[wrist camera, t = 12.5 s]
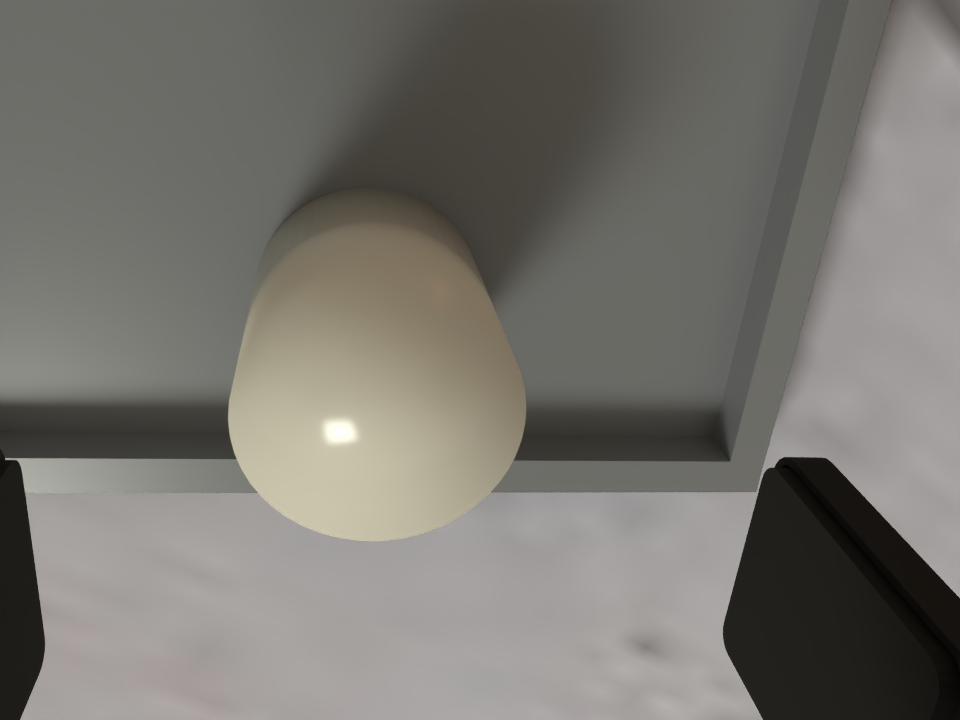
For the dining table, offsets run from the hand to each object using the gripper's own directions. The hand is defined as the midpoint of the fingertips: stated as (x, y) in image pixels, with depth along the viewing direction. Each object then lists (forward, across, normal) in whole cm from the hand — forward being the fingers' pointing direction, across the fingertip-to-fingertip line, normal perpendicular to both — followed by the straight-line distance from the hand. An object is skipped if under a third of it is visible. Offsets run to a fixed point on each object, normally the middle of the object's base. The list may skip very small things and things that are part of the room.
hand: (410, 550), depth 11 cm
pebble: (+7, 0, -1) cm, 7 cm away
